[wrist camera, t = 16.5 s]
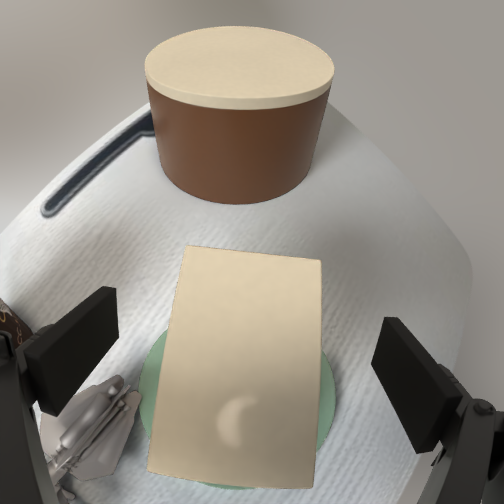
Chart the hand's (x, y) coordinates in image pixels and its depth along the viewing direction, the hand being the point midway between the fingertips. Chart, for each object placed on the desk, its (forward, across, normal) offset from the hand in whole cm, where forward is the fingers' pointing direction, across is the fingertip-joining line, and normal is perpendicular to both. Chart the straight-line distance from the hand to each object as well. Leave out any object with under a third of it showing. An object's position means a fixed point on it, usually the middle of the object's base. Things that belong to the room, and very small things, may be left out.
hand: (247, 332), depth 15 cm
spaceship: (-7, -15, -18) cm, 25 cm away
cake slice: (+3, 0, -6) cm, 7 cm away
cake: (+21, -3, +10) cm, 23 cm away
